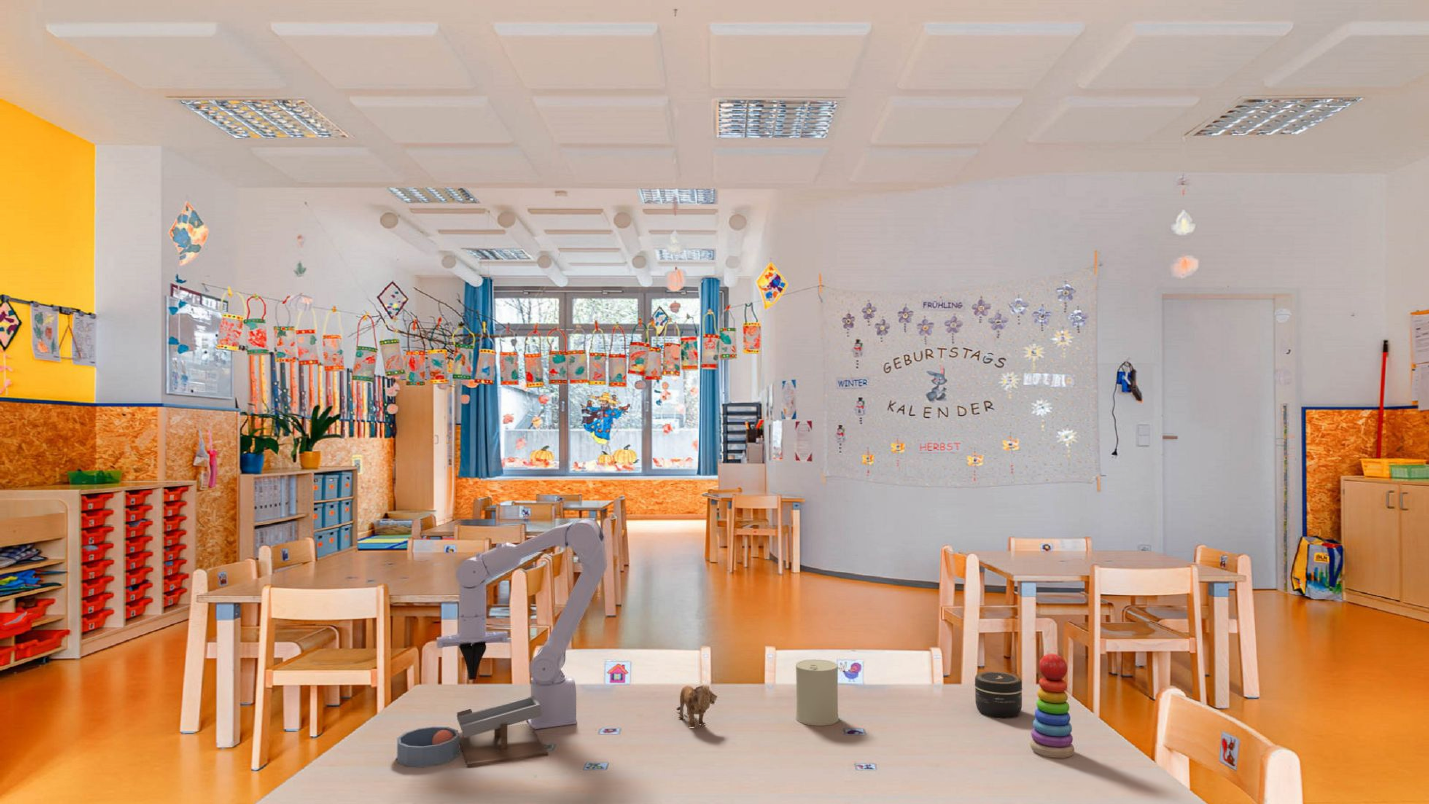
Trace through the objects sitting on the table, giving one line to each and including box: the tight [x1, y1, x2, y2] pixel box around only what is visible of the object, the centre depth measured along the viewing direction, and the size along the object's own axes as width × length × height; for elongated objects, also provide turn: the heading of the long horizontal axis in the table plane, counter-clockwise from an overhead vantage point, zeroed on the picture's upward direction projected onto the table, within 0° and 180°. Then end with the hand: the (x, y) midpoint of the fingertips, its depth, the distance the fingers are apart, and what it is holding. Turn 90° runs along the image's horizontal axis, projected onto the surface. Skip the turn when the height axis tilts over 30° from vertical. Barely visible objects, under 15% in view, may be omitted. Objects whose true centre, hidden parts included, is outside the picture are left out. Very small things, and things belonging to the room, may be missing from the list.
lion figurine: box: [676, 684, 718, 728], centre depth 186 cm, size 15×5×9 cm, turn 30°
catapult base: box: [458, 722, 549, 768], centre depth 172 cm, size 15×18×5 cm
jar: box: [974, 671, 1023, 719], centre depth 192 cm, size 10×10×8 cm
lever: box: [456, 695, 542, 738], centre depth 175 cm, size 15×12×2 cm
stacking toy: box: [1029, 653, 1075, 759], centre depth 168 cm, size 8×8×19 cm
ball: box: [432, 730, 454, 745], centre depth 168 cm, size 4×4×4 cm
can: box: [795, 659, 840, 727], centre depth 188 cm, size 9×9×12 cm
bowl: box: [396, 726, 460, 768], centre depth 167 cm, size 11×11×4 cm
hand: (472, 678), depth 186 cm, fingers closed
